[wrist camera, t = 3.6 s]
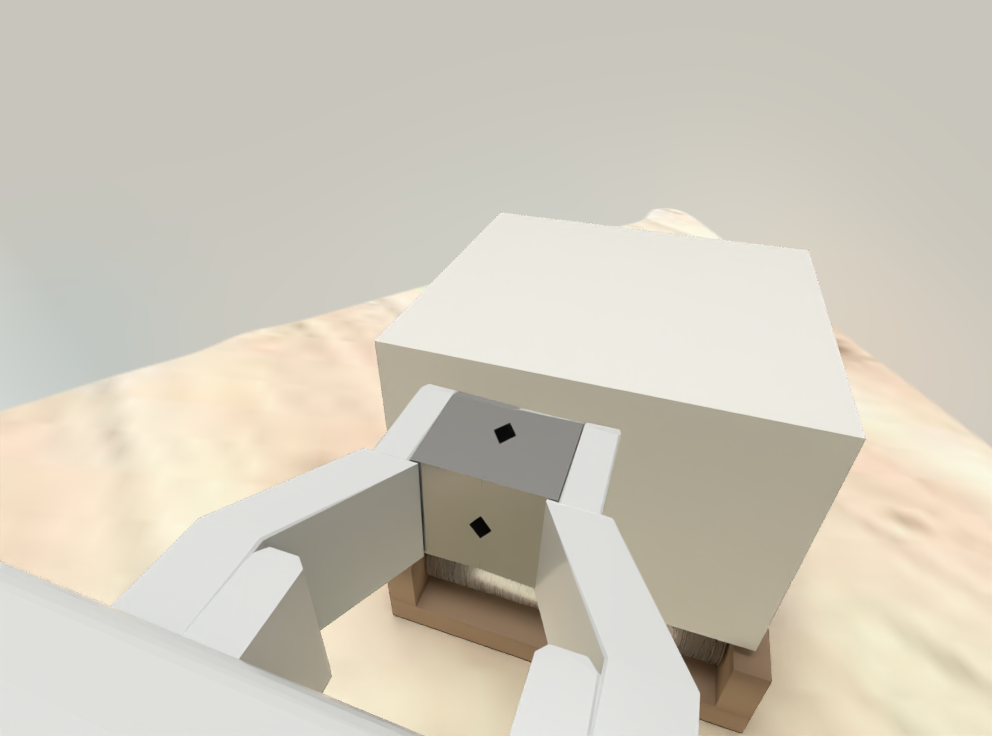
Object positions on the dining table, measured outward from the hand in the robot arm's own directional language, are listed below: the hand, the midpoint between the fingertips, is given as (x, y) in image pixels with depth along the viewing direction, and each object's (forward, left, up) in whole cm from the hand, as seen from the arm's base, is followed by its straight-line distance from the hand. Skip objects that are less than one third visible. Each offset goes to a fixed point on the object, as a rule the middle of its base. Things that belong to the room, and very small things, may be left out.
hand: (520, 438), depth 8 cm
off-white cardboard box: (0, -9, -10) cm, 13 cm away
